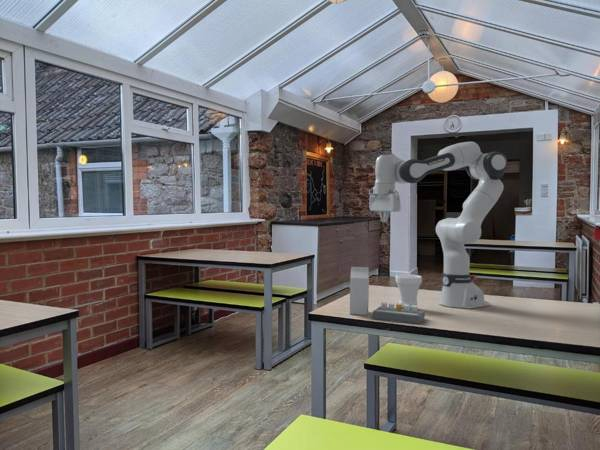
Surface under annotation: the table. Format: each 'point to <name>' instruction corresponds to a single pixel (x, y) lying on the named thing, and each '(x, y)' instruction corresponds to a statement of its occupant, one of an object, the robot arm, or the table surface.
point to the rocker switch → (399, 307)
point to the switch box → (399, 314)
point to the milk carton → (359, 290)
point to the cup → (408, 288)
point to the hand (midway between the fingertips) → (384, 221)
